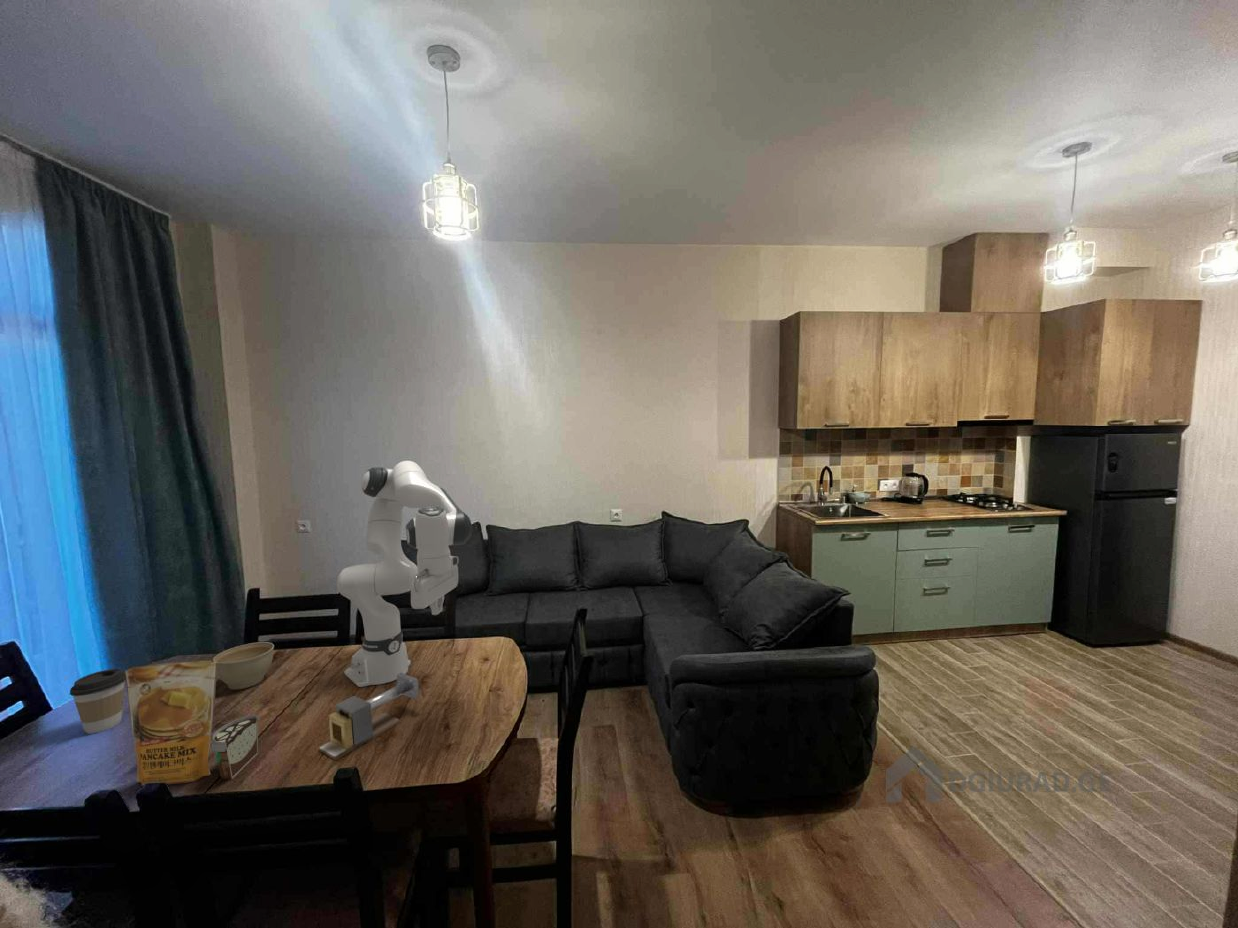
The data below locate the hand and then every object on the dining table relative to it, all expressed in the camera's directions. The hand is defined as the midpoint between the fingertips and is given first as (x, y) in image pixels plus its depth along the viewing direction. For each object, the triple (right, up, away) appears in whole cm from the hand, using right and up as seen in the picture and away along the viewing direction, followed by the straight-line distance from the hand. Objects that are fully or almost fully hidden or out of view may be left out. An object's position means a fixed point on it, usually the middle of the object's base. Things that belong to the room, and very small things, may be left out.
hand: (437, 613), depth 135 cm
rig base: (-19, -32, -4) cm, 38 cm away
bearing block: (-20, -32, -6) cm, 38 cm away
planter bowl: (-75, -32, +27) cm, 86 cm away
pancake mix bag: (-57, -35, -18) cm, 69 cm away
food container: (-46, -34, -15) cm, 59 cm away
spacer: (-22, -28, -9) cm, 37 cm away
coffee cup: (-99, -35, +4) cm, 105 cm away
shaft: (-16, -28, +1) cm, 32 cm away
